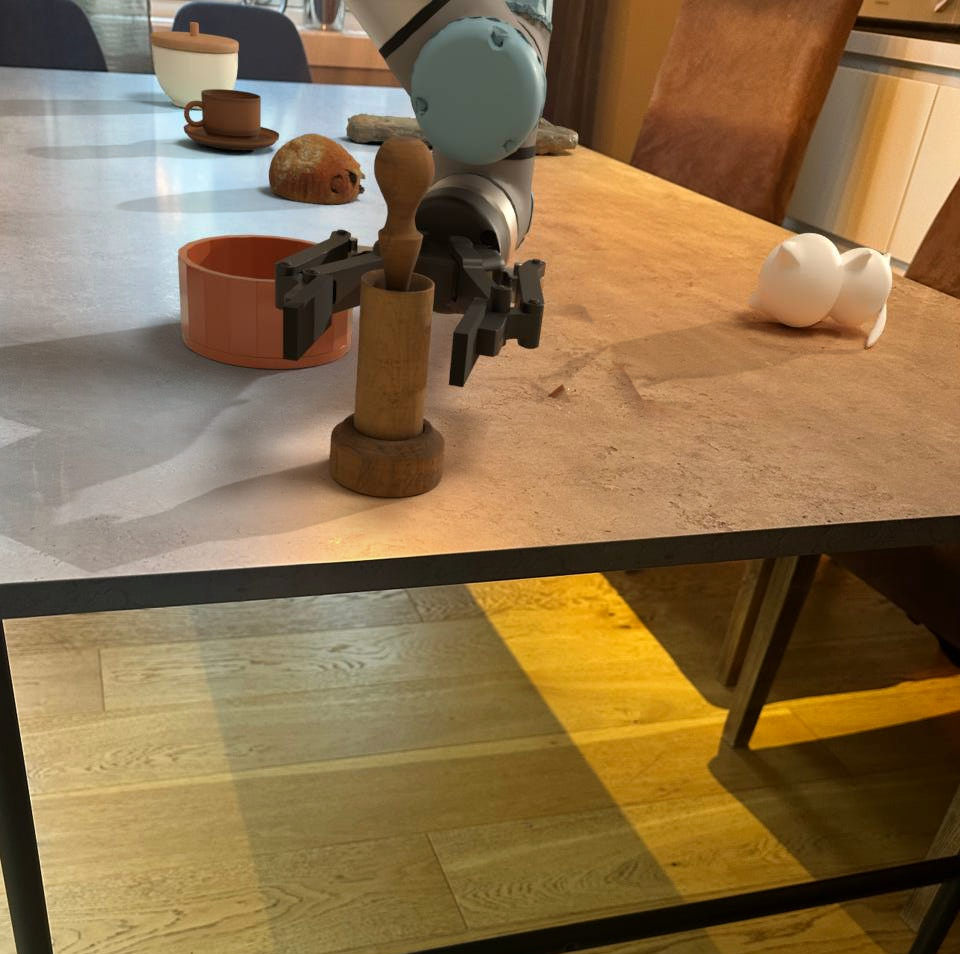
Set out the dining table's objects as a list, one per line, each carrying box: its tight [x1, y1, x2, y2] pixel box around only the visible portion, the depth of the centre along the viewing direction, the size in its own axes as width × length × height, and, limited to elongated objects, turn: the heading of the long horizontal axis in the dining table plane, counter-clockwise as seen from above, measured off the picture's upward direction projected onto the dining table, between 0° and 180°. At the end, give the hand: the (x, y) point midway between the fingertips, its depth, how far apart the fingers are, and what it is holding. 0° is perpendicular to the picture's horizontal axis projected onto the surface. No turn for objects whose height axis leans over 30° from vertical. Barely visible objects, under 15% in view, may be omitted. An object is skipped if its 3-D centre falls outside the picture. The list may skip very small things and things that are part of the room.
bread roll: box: [268, 132, 367, 205], centre depth 121 cm, size 10×10×8 cm
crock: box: [177, 234, 354, 370], centre depth 78 cm, size 12×12×6 cm
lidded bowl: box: [149, 21, 240, 111], centre depth 161 cm, size 13×13×11 cm
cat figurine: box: [746, 232, 893, 348], centre depth 95 cm, size 9×11×12 cm
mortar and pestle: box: [328, 136, 446, 498], centre depth 58 cm, size 7×6×18 cm
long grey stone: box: [345, 113, 579, 156], centre depth 157 cm, size 35×5×10 cm
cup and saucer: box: [183, 89, 280, 151], centre depth 139 cm, size 12×12×6 cm
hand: (373, 346), depth 54 cm, fingers open, 8 cm apart
